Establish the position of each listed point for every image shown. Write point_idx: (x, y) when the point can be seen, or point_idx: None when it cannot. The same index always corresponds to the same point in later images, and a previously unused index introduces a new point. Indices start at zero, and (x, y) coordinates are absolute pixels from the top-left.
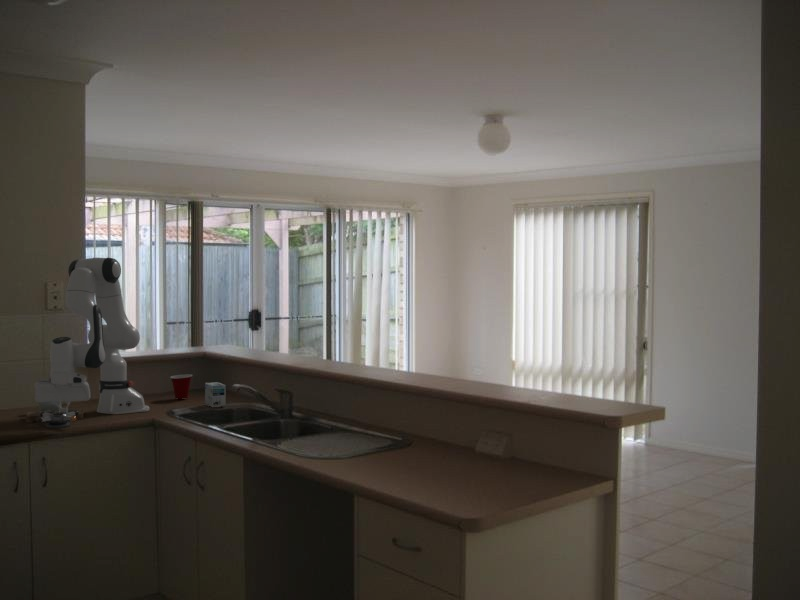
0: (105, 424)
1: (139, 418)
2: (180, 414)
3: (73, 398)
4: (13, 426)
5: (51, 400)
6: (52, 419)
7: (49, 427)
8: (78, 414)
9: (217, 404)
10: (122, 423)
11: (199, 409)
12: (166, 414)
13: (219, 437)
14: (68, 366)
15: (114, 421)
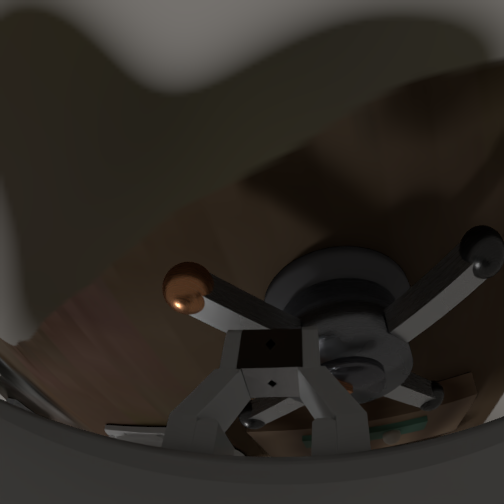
0: (92, 316)
1: (59, 372)
2: (15, 377)
3: (83, 467)
4: None
5: (447, 461)
6: (379, 312)
7: (387, 260)
8: (267, 427)
9: (10, 403)
10: (46, 319)
11: (26, 401)
12: (40, 388)
13: None
14: None
15: (98, 357)
